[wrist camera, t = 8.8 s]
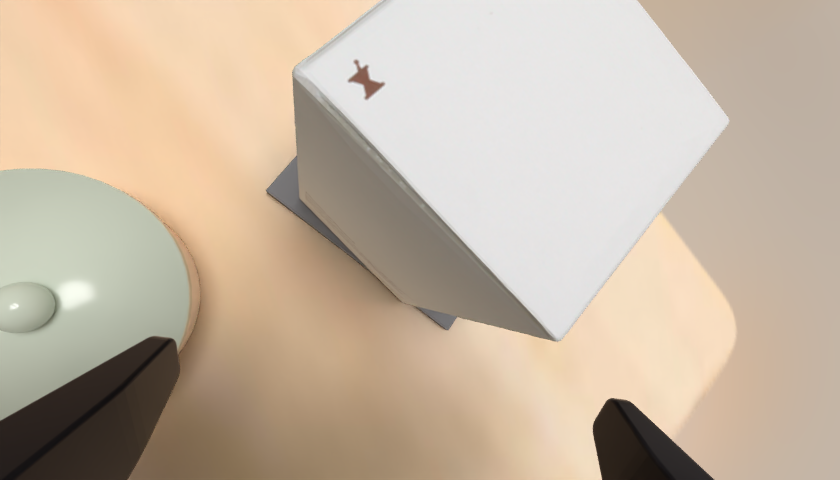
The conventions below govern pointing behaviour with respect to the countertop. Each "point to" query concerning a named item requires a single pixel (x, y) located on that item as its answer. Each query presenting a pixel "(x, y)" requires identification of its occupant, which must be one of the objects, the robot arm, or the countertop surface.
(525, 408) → the countertop surface
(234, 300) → the countertop surface
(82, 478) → the robot arm
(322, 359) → the countertop surface
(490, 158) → the supplement box
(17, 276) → the lidded bowl
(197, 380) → the countertop surface
